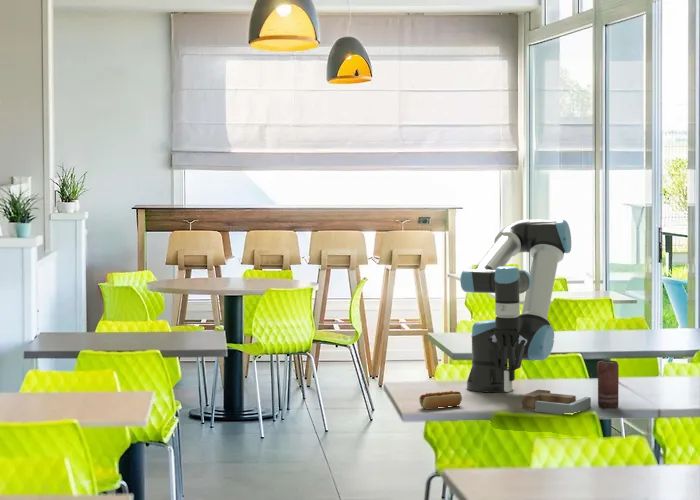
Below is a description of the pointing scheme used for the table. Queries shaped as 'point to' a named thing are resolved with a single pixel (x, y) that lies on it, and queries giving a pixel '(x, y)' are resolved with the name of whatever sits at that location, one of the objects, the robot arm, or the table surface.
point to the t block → (545, 398)
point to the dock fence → (563, 406)
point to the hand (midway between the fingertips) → (508, 390)
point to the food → (440, 399)
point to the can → (608, 383)
